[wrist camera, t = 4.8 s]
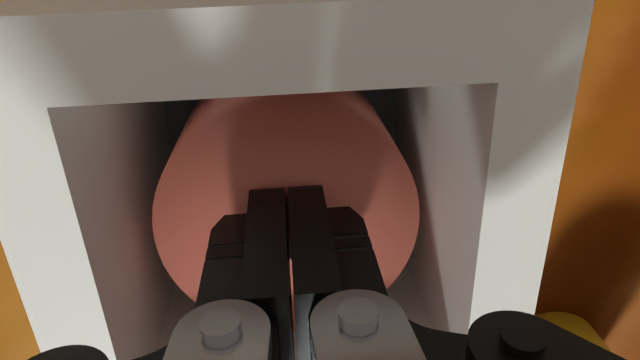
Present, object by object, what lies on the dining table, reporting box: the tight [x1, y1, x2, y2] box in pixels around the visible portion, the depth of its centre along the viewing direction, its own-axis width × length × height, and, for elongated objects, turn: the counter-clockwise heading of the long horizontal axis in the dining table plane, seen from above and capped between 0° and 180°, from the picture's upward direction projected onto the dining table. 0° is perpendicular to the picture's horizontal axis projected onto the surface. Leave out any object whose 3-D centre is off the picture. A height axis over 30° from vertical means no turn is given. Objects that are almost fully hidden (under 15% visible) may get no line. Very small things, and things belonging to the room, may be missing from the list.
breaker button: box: [152, 90, 420, 331], centre depth 13 cm, size 6×6×4 cm
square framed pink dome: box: [0, 0, 594, 360], centre depth 13 cm, size 12×15×9 cm
